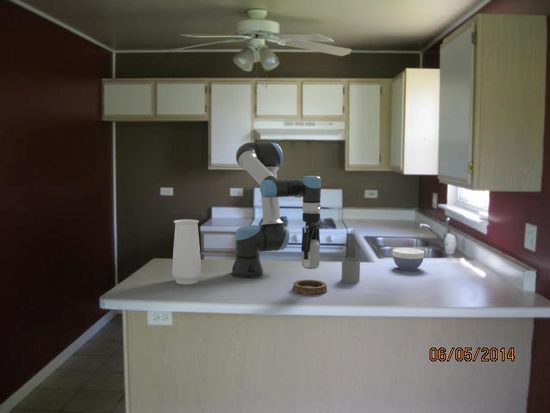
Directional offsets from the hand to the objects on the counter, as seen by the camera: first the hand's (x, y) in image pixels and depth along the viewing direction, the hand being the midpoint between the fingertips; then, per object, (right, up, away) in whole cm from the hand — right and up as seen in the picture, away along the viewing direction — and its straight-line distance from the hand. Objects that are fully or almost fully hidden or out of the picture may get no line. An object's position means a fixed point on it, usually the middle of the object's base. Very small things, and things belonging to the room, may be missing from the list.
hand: (310, 264), depth 227 cm
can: (0, -1, 0) cm, 1 cm away
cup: (+20, -10, +19) cm, 29 cm away
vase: (-56, -9, +14) cm, 58 cm away
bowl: (+53, -7, +45) cm, 70 cm away
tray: (0, -11, +1) cm, 11 cm away
